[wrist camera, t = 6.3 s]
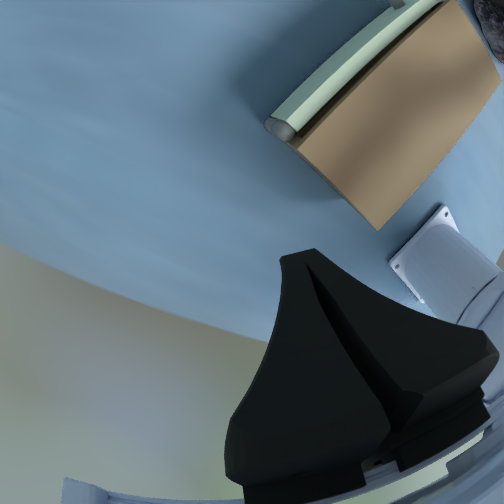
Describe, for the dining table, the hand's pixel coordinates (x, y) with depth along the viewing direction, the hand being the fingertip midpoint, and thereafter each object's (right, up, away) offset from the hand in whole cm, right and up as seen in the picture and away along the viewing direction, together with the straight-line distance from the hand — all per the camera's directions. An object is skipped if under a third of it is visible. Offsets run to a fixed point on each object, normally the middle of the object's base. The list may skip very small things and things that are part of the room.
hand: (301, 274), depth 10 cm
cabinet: (+8, +12, +5) cm, 15 cm away
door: (+4, +14, +3) cm, 15 cm away
